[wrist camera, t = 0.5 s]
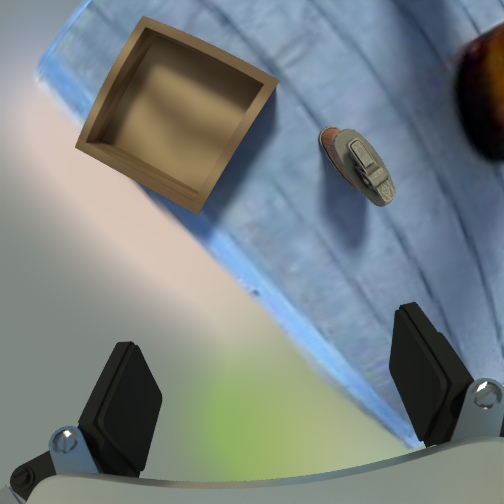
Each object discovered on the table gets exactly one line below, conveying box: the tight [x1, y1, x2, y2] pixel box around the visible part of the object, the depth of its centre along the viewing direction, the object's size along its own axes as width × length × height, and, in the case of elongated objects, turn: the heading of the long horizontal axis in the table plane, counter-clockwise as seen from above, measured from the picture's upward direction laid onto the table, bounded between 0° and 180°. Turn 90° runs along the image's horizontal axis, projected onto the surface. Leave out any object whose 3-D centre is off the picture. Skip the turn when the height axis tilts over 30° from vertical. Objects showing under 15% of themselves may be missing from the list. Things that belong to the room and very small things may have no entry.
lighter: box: [318, 126, 395, 207], centre depth 29 cm, size 8×3×10 cm, turn 40°
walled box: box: [75, 16, 279, 215], centre depth 29 cm, size 15×15×5 cm
